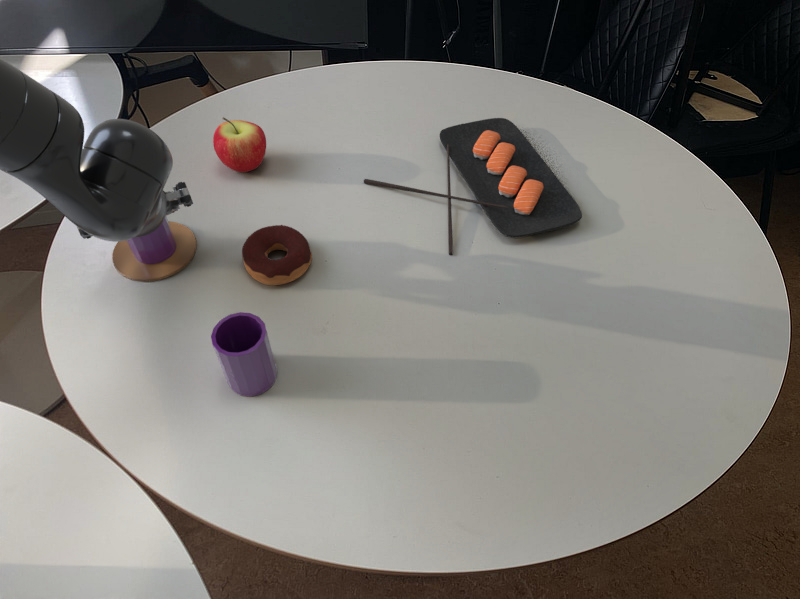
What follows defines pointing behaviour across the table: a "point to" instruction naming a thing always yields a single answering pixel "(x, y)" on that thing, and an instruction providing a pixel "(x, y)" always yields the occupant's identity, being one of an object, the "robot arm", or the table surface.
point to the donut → (283, 268)
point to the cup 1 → (154, 245)
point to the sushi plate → (504, 179)
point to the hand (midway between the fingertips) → (138, 215)
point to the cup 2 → (244, 353)
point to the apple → (240, 144)
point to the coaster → (152, 272)
